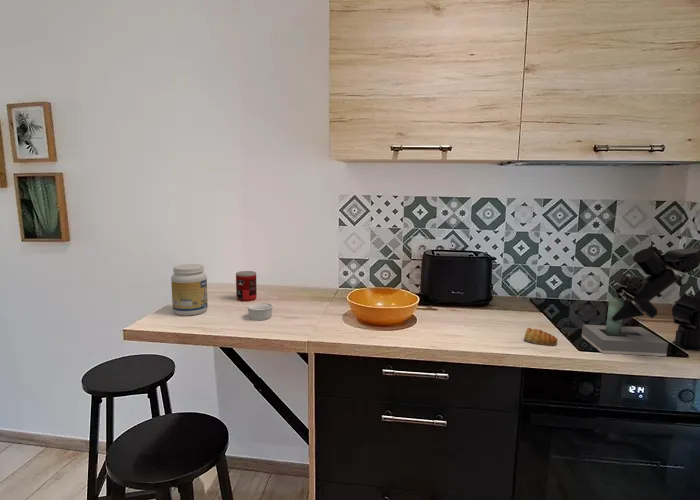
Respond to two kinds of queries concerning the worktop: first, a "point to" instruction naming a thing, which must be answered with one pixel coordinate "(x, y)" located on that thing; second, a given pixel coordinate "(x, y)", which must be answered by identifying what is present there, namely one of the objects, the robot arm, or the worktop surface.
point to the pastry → (540, 337)
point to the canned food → (246, 286)
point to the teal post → (614, 306)
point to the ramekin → (260, 311)
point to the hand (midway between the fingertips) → (609, 317)
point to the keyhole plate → (625, 341)
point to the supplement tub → (189, 289)
